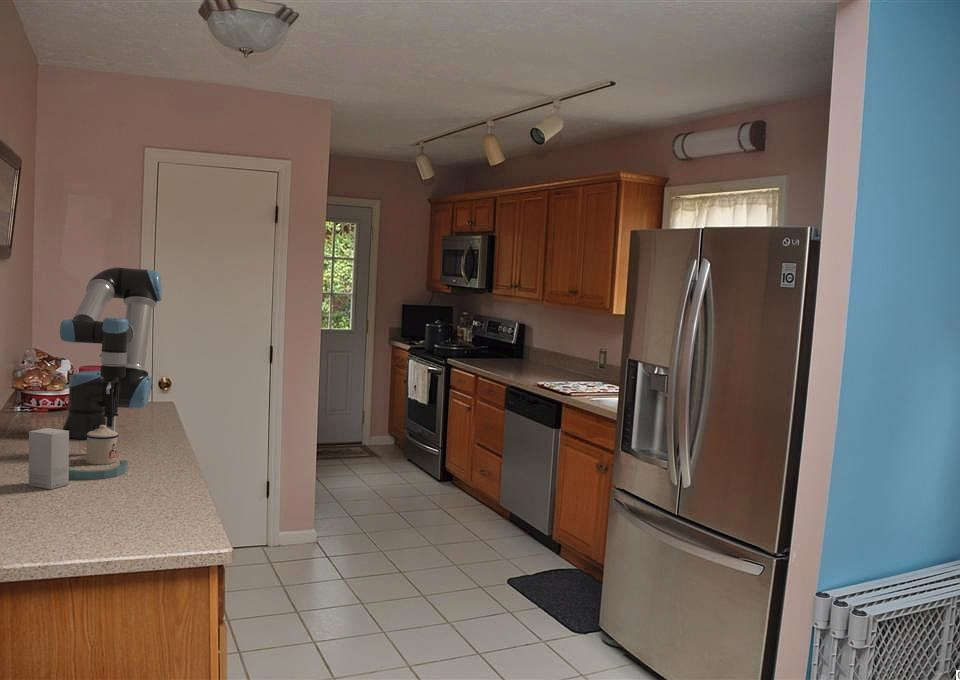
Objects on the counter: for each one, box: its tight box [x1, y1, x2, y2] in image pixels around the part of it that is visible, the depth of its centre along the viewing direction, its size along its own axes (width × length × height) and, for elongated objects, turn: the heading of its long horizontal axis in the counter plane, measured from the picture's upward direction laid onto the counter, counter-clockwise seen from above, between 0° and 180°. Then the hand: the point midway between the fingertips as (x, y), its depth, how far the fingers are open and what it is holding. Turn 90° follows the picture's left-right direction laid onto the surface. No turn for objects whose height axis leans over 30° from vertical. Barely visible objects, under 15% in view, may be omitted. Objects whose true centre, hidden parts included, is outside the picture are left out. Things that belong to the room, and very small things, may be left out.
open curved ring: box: [69, 458, 129, 481], centre depth 236 cm, size 16×20×2 cm
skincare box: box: [28, 427, 70, 490], centre depth 219 cm, size 8×7×16 cm
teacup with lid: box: [85, 425, 119, 466], centre depth 251 cm, size 12×9×12 cm
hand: (109, 436), depth 260 cm, fingers closed
